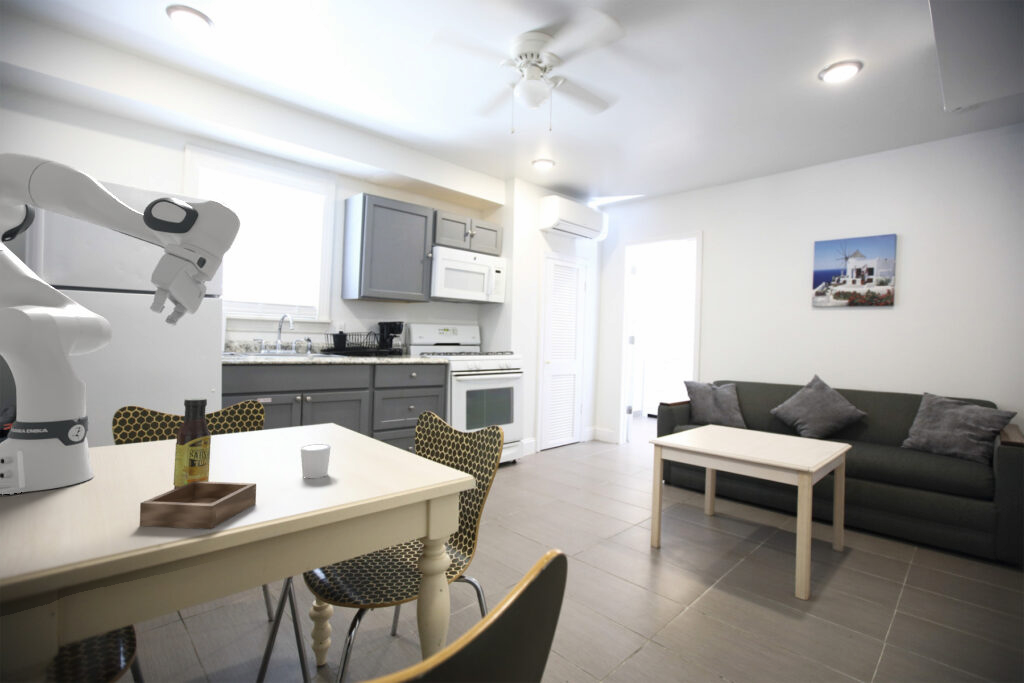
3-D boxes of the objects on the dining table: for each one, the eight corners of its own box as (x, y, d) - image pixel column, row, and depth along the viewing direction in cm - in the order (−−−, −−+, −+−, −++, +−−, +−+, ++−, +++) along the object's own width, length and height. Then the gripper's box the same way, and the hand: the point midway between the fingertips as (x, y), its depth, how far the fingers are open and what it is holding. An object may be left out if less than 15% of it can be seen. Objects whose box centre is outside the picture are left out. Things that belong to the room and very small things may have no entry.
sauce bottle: (190, 497, 97) (193, 401, 97) (165, 494, 98) (168, 400, 98) (216, 488, 104) (218, 398, 104) (192, 485, 105) (194, 396, 105)
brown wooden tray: (139, 525, 82) (140, 503, 82) (193, 500, 95) (193, 481, 95) (211, 529, 82) (212, 506, 82) (255, 503, 95) (256, 483, 95)
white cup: (319, 480, 111) (320, 450, 111) (293, 478, 112) (294, 448, 112) (335, 472, 118) (336, 444, 118) (310, 470, 119) (311, 442, 119)
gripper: (192, 276, 117) (163, 325, 112) (164, 240, 98) (128, 297, 93) (219, 286, 118) (191, 335, 113) (196, 252, 100) (162, 309, 95)
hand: (162, 318), depth 103 cm, fingers open, 8 cm apart
